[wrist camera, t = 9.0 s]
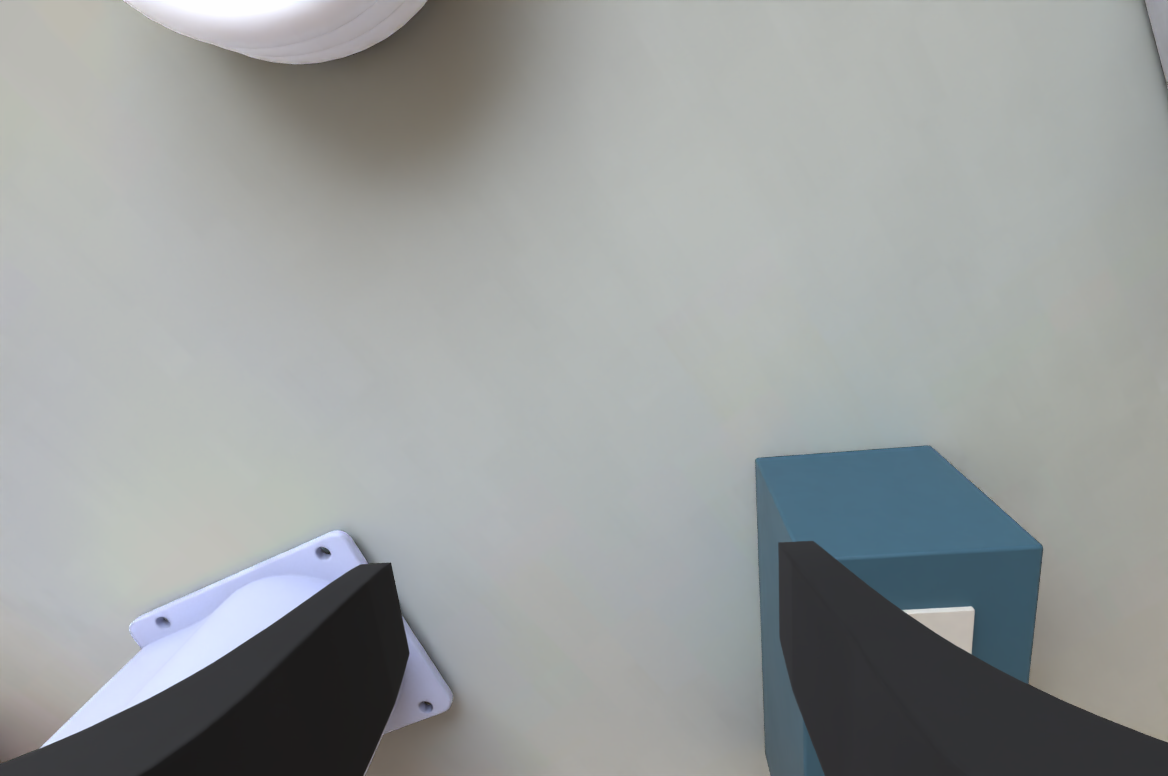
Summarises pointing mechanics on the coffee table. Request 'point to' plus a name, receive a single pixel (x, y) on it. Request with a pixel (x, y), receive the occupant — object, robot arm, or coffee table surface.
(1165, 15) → the coffee box
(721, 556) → the coffee table surface
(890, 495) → the tissue box
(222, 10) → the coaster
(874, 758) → the robot arm
